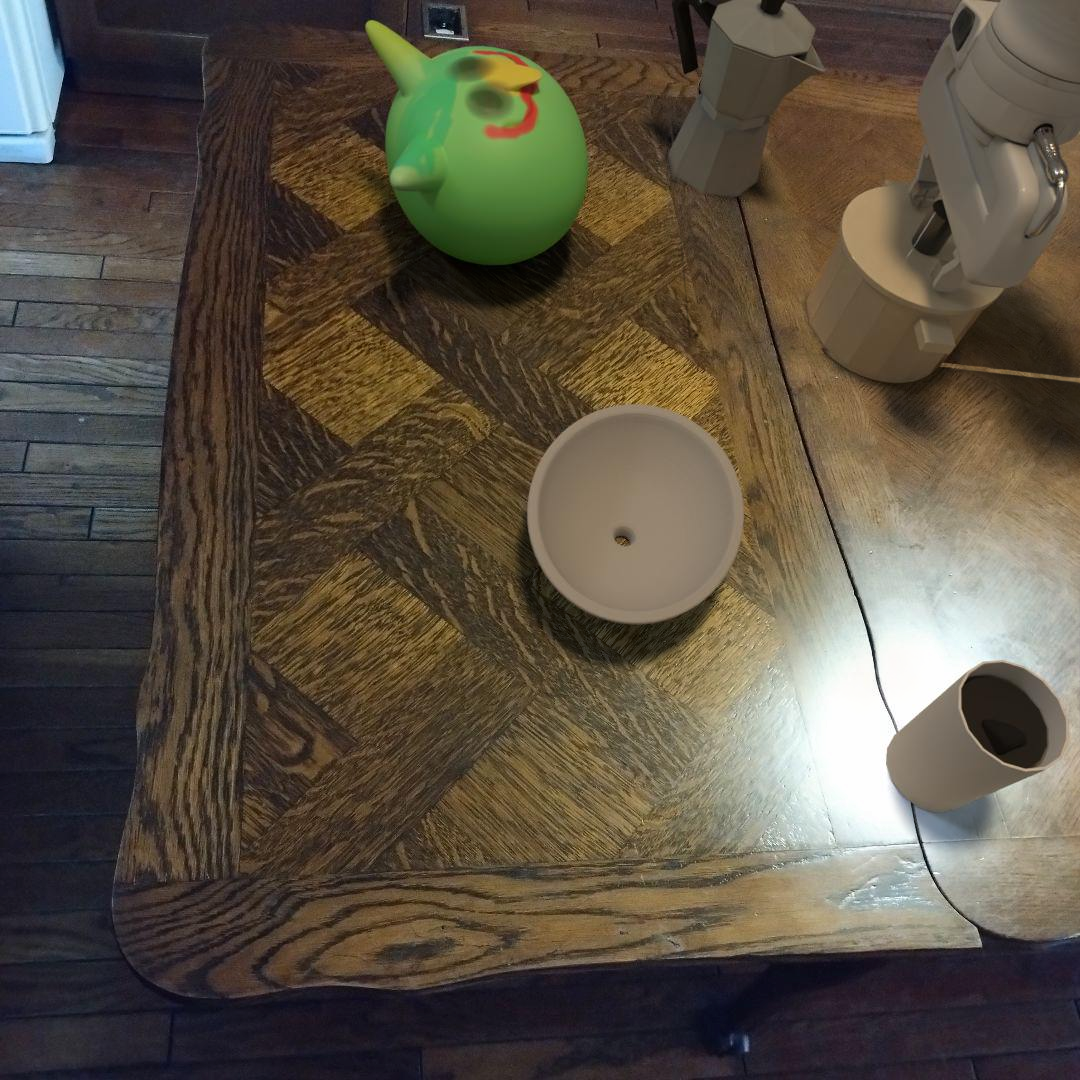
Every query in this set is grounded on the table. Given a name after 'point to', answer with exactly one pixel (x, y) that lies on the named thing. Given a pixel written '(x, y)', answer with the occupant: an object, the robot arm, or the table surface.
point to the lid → (906, 251)
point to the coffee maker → (737, 87)
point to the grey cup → (979, 737)
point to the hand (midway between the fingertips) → (928, 242)
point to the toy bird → (481, 150)
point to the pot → (878, 325)
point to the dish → (635, 514)
